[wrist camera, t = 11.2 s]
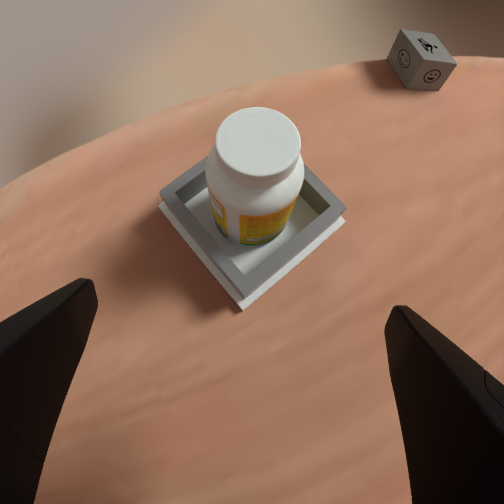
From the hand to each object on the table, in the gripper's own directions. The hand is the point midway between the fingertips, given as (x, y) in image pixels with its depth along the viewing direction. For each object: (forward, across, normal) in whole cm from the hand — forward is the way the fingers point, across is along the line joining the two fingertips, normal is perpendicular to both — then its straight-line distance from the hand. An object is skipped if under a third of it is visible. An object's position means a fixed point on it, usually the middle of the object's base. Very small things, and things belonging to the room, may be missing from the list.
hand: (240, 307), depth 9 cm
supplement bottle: (+15, 0, +4) cm, 15 cm away
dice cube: (+29, -17, -10) cm, 35 cm away
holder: (+15, 0, +4) cm, 16 cm away
